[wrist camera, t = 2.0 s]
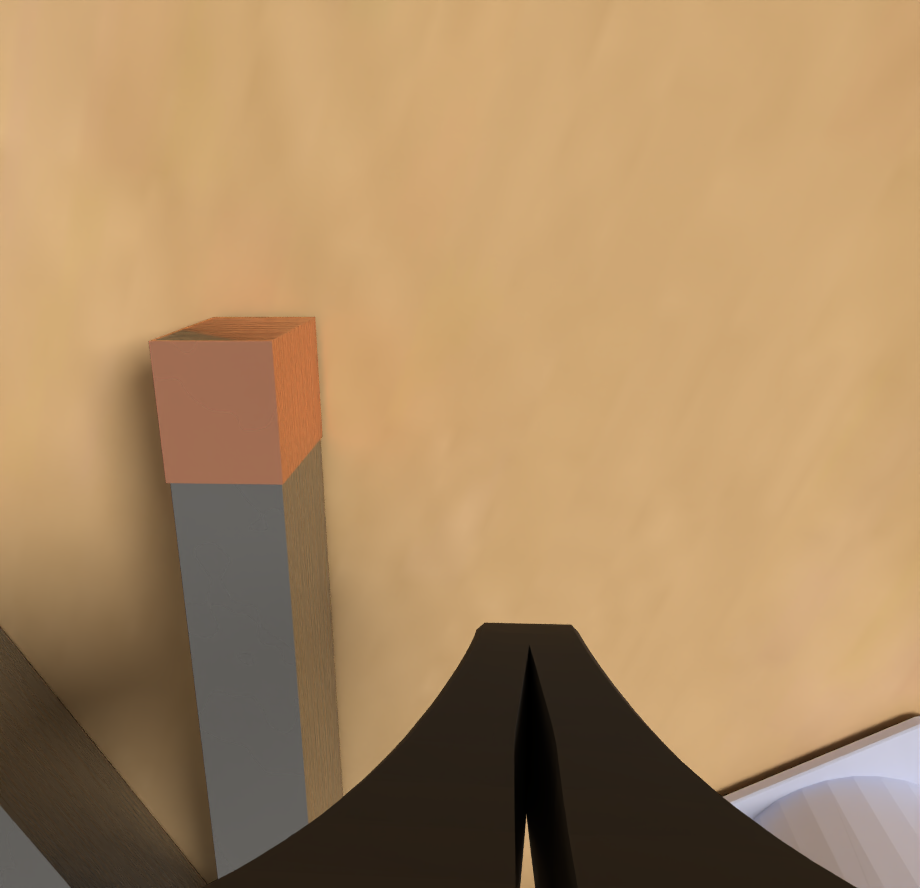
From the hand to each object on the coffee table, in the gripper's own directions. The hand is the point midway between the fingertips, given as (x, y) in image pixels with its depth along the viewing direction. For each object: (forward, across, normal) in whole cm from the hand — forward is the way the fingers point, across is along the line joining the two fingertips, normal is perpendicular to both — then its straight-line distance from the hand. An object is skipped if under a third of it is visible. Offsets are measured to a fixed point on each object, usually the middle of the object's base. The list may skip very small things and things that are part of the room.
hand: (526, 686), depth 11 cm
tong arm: (+9, +7, +7) cm, 13 cm away
